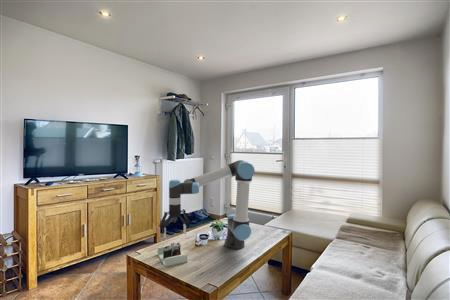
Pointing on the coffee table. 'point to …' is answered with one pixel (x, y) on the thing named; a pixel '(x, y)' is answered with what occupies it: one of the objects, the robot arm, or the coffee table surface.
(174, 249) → the camera
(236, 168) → the robot arm
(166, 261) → the u cradle
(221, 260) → the coffee table surface
